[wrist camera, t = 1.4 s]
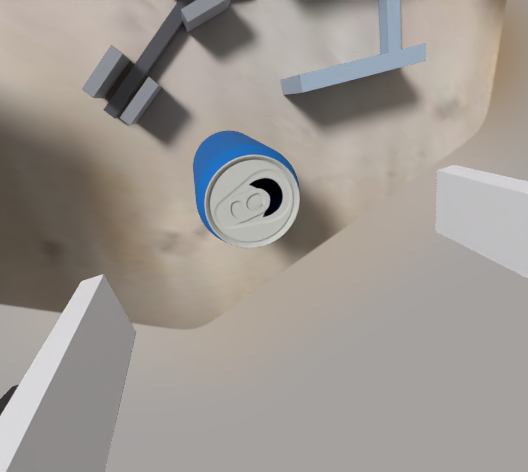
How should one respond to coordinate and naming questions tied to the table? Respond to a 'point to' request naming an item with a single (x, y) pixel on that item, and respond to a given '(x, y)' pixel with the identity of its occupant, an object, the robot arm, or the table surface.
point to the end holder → (353, 70)
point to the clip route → (146, 61)
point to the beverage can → (244, 190)
